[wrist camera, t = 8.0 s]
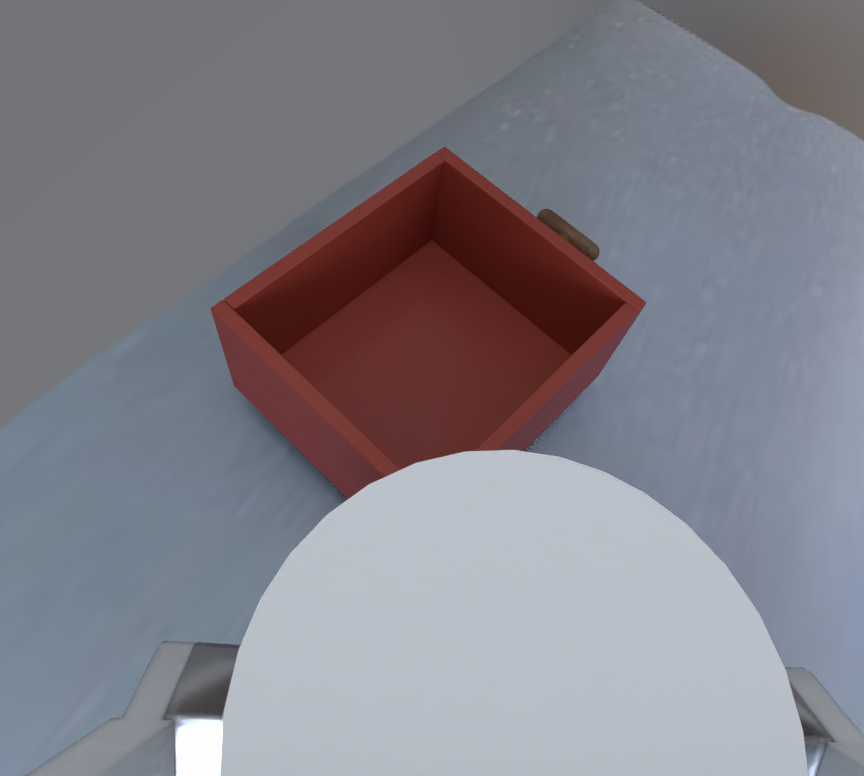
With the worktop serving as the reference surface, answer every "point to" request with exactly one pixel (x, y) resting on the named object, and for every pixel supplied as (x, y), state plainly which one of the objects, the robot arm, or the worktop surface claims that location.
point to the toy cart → (424, 327)
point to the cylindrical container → (507, 638)
